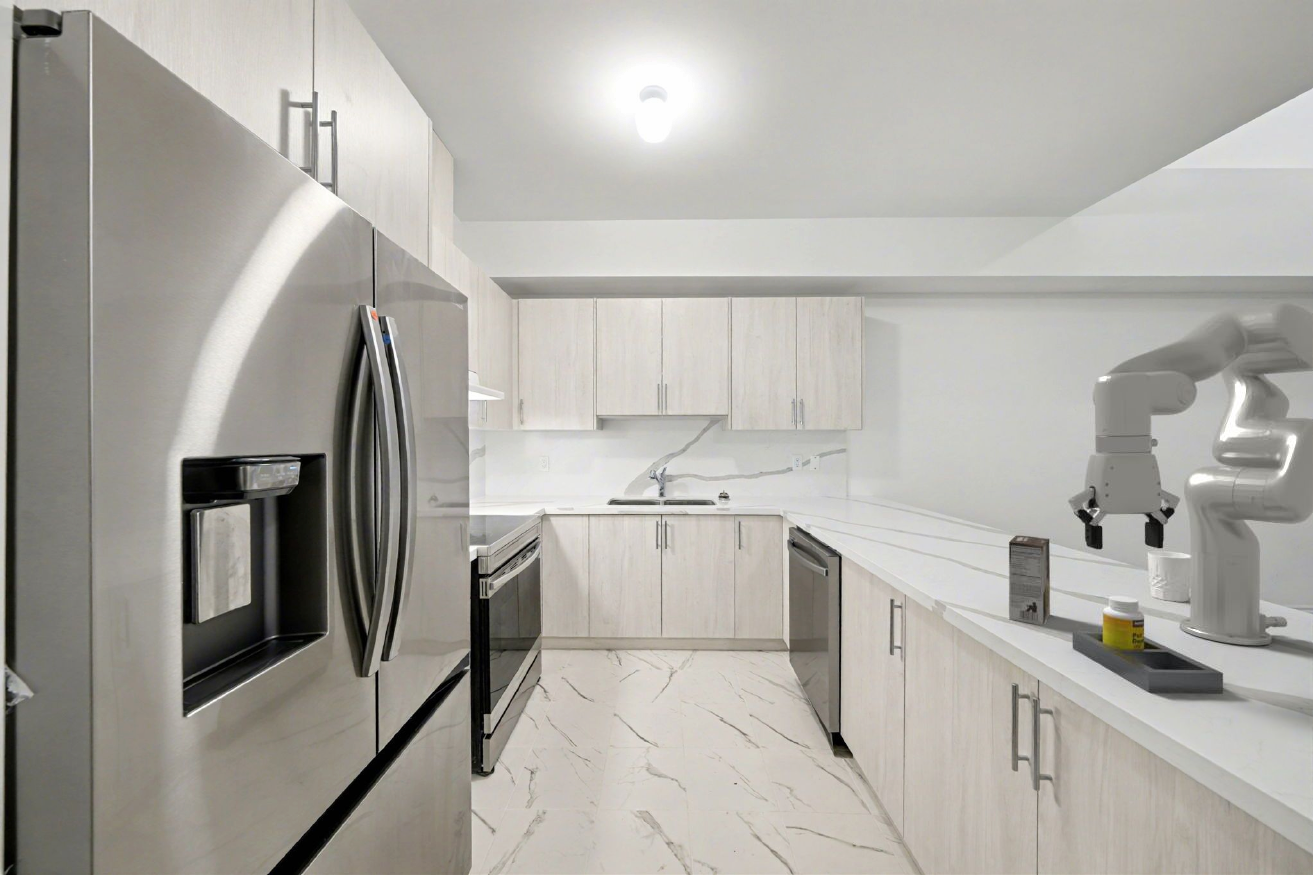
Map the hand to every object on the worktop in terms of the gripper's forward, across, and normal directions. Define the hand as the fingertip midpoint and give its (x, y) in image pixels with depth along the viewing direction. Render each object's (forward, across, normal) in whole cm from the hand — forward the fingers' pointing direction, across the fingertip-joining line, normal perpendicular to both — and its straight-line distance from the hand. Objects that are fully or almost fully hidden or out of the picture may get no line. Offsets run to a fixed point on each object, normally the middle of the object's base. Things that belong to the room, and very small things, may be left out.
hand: (1124, 547), depth 103 cm
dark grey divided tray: (+19, +1, +5) cm, 19 cm away
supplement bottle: (+19, +1, 0) cm, 19 cm away
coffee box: (+19, +4, -22) cm, 30 cm away
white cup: (+20, -35, -37) cm, 55 cm away
